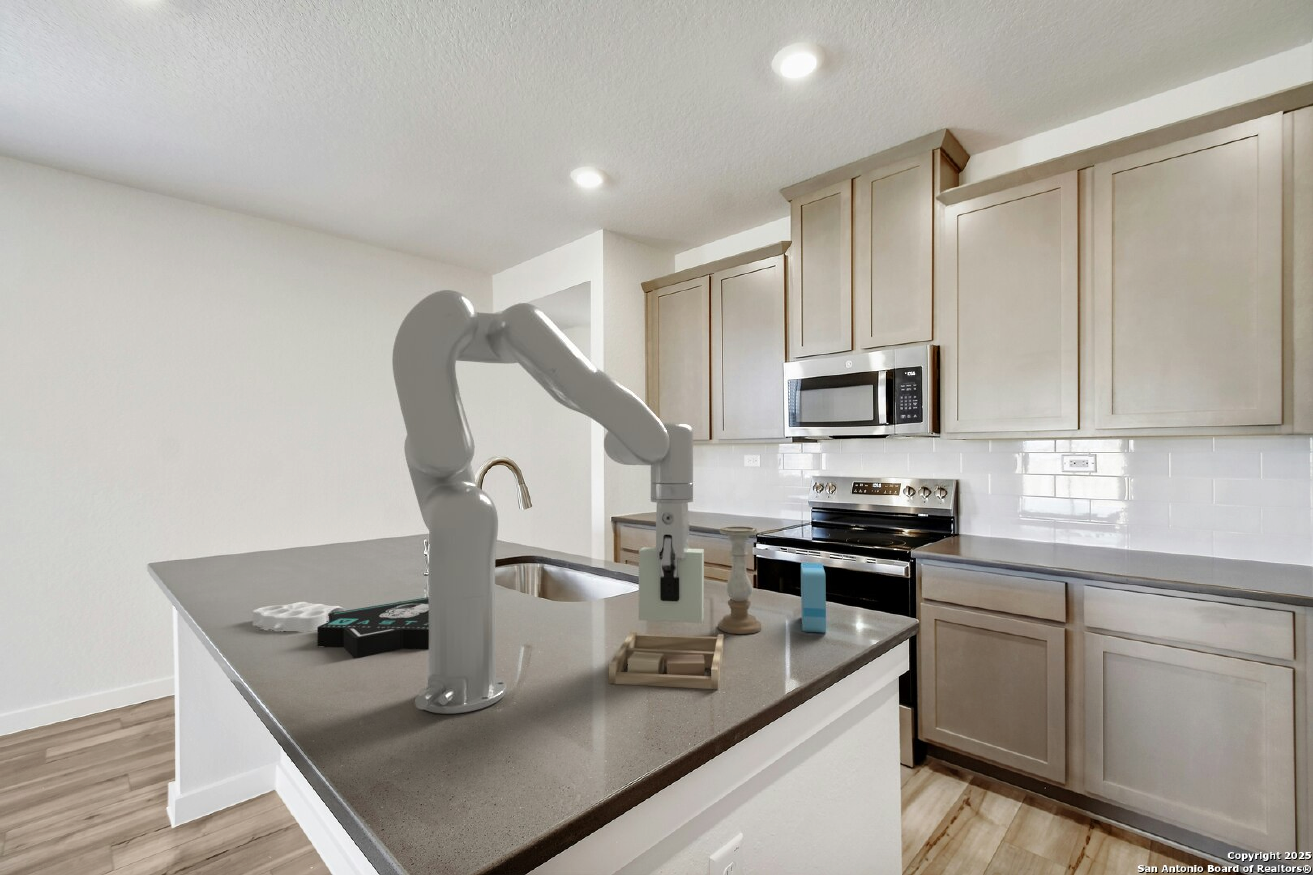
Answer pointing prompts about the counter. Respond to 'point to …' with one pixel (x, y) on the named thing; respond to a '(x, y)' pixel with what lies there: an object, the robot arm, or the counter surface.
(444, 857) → the counter surface
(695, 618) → the sage panel
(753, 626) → the candle holder
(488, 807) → the counter surface
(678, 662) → the walnut offcut
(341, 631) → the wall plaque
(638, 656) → the pine offcut
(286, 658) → the counter surface
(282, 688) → the counter surface
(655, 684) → the oak rack
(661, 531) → the robot arm
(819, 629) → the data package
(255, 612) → the white dimpled disc
